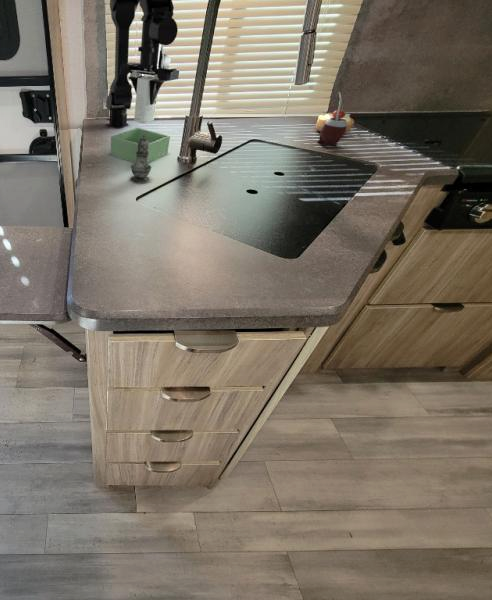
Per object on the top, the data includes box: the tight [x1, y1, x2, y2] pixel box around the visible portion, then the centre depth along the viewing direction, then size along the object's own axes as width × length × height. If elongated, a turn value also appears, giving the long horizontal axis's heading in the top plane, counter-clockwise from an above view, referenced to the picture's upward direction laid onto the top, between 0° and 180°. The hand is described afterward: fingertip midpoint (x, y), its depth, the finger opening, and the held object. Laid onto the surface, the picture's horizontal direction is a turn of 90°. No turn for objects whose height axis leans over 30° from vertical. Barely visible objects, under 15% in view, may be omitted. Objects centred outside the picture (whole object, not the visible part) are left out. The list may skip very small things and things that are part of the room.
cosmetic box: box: [133, 75, 158, 124], centre depth 105 cm, size 6×4×12 cm
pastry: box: [316, 105, 355, 135], centre depth 123 cm, size 12×12×9 cm
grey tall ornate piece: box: [130, 135, 153, 184], centre depth 90 cm, size 6×6×12 cm
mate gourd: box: [316, 91, 347, 148], centre depth 111 cm, size 8×8×15 cm
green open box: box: [110, 127, 171, 164], centre depth 107 cm, size 14×14×6 cm
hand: (146, 103), depth 106 cm, fingers closed on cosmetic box, 4 cm apart
